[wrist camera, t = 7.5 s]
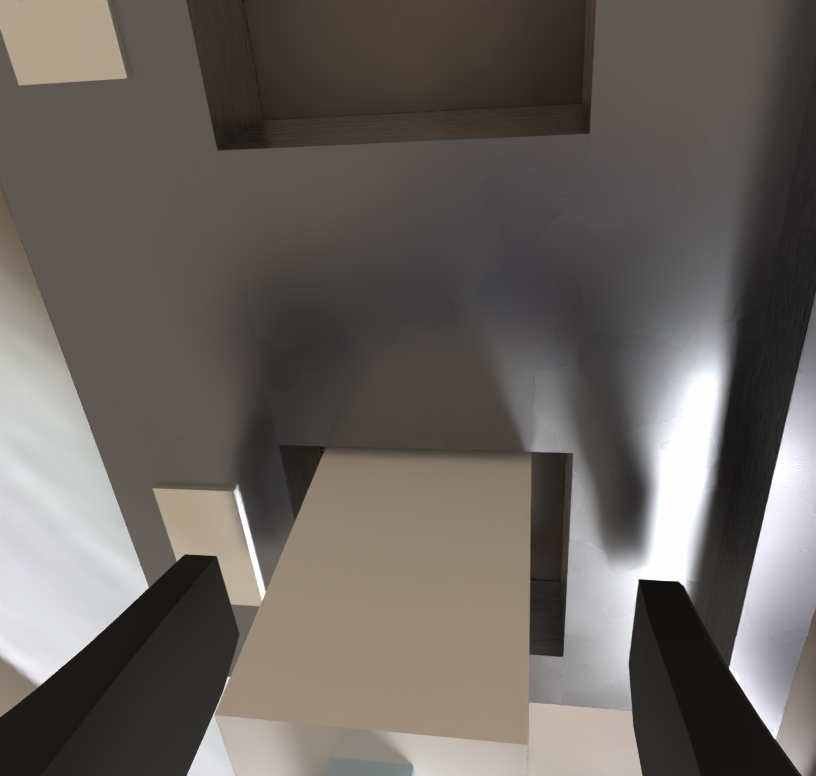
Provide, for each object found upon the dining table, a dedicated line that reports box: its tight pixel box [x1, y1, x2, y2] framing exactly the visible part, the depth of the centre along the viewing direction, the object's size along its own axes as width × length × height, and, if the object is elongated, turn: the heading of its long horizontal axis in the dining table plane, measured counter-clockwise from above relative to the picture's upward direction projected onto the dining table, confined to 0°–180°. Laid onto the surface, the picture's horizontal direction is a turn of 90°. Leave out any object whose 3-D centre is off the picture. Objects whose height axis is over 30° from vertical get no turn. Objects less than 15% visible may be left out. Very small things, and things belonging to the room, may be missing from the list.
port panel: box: [0, 0, 816, 740], centre depth 11 cm, size 12×18×4 cm, turn 5°
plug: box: [215, 446, 531, 776], centre depth 12 cm, size 4×4×8 cm
